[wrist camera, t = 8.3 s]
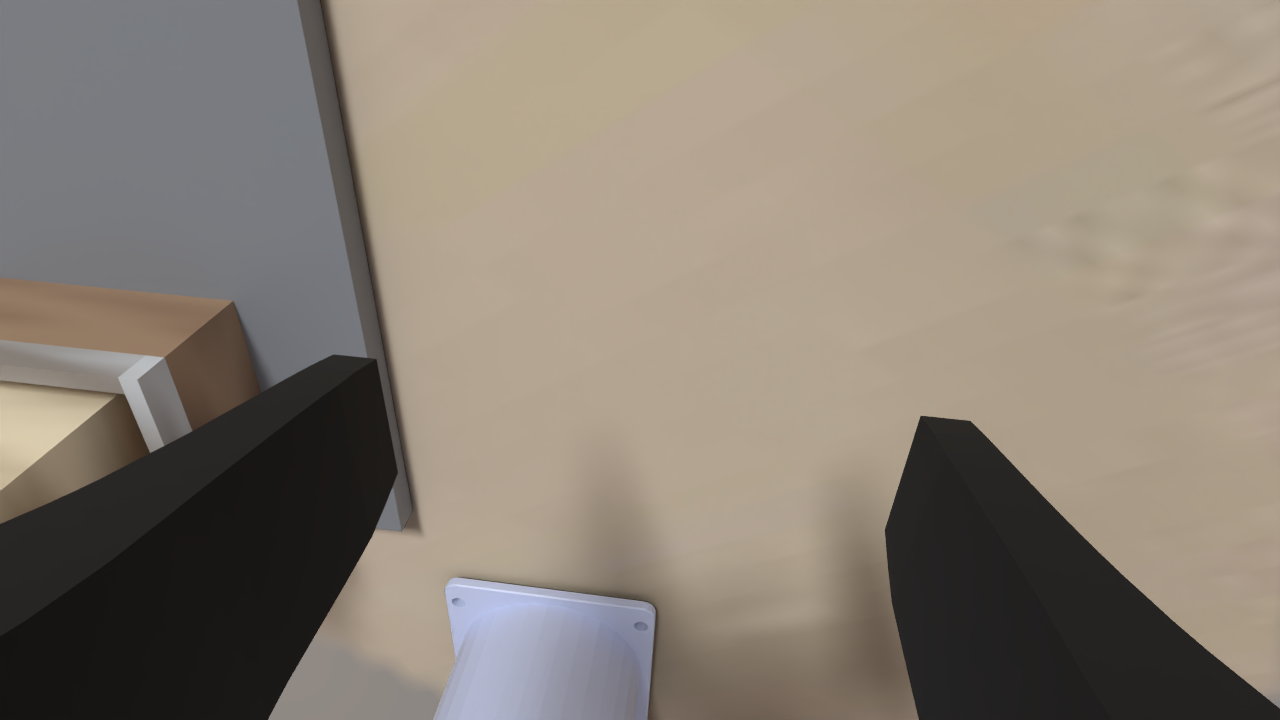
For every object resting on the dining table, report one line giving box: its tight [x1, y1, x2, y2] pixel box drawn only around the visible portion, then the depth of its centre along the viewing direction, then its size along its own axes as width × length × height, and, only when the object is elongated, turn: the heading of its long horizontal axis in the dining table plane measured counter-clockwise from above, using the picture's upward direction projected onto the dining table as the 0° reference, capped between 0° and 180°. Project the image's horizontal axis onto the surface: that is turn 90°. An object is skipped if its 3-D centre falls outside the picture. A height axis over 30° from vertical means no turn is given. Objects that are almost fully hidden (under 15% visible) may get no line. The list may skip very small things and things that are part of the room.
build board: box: [0, 0, 413, 532], centre depth 22 cm, size 18×12×1 cm, turn 177°
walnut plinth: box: [0, 278, 261, 453], centre depth 22 cm, size 8×8×4 cm
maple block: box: [0, 380, 150, 524], centre depth 19 cm, size 4×4×5 cm
